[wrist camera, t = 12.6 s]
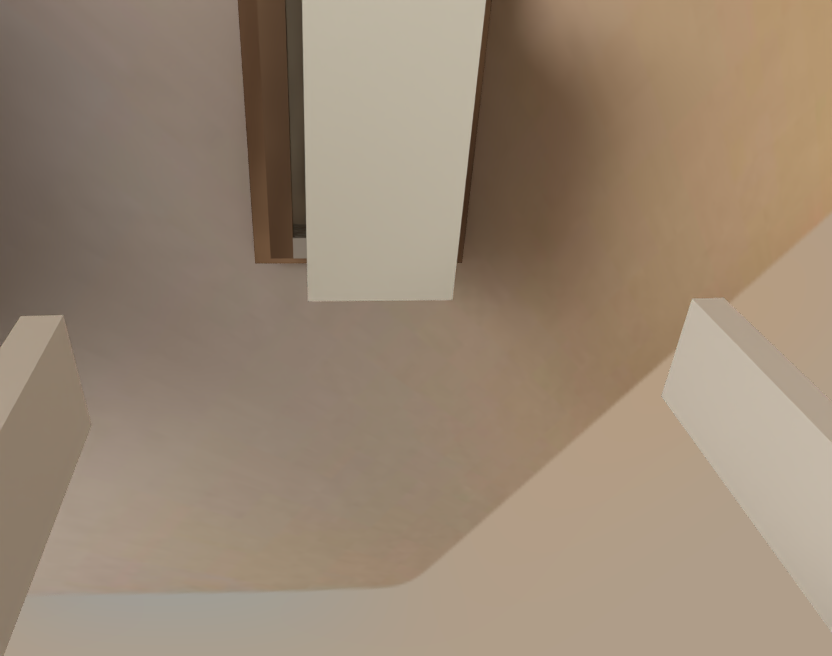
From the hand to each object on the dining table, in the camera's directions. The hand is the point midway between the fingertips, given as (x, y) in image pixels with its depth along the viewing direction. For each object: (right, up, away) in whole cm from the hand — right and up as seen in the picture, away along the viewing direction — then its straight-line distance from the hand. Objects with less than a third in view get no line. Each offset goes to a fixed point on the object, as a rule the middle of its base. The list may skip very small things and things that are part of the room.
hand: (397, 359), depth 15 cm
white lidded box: (-2, +13, +20) cm, 23 cm away
